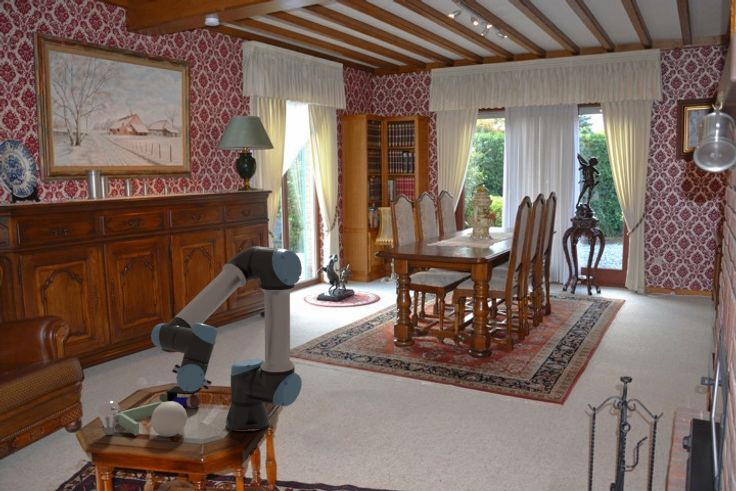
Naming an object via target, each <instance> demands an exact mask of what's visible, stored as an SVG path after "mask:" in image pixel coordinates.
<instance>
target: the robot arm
mask: <svg viewBox="0 0 736 491" xmlns="http://www.w3.org/2000/svg"><path fill="white" fill-rule="evenodd" d="M302 269H303V267H302V262H301V258H300V257H299V256H298V254H297V253H296V252H295V251H294V250H291V249H286V248H284V247H283V248H282V247H271V246H270V247H269V246H262V245H261V246H260V245H257V246H252V247H248V248H246V249H245V250H242V251H240V252H238V253H237V254H236V255H234V256H233V257H232V258H230V259H229V260H228V261H227V262H226V263H225V264H223V266H222V271H221V272H220V273H219V274H218V275H217V276H216V277H215V278H214V279H213V280H212V281H211V282H209V283H208V285H207V286H206V287H204V288H203V289H202V290H201V291H200V292H199V293H198V294H197V295H196V296H195V297H194V298H193V299H192V300H191V301H190V302H188V304H186V306H184V307H183V309H182V310H181V311H179V312H178V313H177V314H176V315H175V316H174V317H173V318H172V319H171V320H170V321H169V322H168V323H167V322H164V323H158V324H156V325H155V326H154V327H153V329H152V332H151V335H150V338H151V339H150V340H151V342H152V344H153V345H154V346H155V347H157V348H161V349H162V350H167V351H168V350H169V351H173V352H177V353H181V354H183V357H182V360H181V363H180V365H179V364H175V366H173V369H171V372H172V373H174V374H176V384H177V386H179V387H180V388H181V389H183V391H189V392H191V391H196V390H198V389H199V388H204V389H205V390H209V389H210V386H211V385H212V381H211V380H208V379H207V378H206V375H207V370H208V367H209V363H210V360H211V357H212V353H213V350H214V347H215V344H216V340H217V336H218V329H217V328H216V327H215V326H212V325H209V324H205V322H206V320H208V318H209V317H210V316H212V314H214V313H215V311H217V309H218V308H219V307H220V306H222V304H224V302H225V301H227V299H228V298H229V297H230V296H231V295H233V293H234V292H235V291H236V290H237V289H238V288H241V287H242V288H243V287H244V286H245V285H247V283H249V282H251V281H259V289H260V290H261V291H262V292H263V293H264V295H263V296H264V360H263V359H262V358H261V359H259V358H251V359H249V358H248V359H244V360H239V361H236V362H234V363H233V364H232V365H231V368H230V406H229V409H228V413H227V415H226V418H225V426H226V428H227V429H229V430H230V431H232V430H248V429H260V430H259V431H261V430H263V429H265V428H267V427H268V426H269V424H270V416H269V414H268V411H267V407H266V405H265V403H267V404H271V405H274V406H278V407H279V406H280V407H288V406H291V405H292V404H294V402H296V400H297V398H298V397H299V395H300V392H301V390H302V386H303V385H302V383H303V382H302V377H301V376H300V375H299V374H298V373H296V372H295V364H294V363H293V361H291V292H292V291H293V290H294V289H295V284H297V283H298V282H299V280H300V279H301V278H300V277H301V276H302V272H303V271H302Z"/></svg>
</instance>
